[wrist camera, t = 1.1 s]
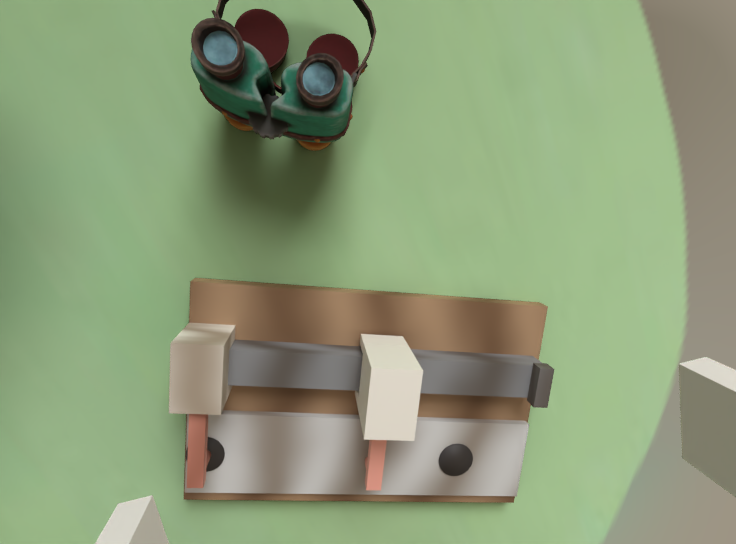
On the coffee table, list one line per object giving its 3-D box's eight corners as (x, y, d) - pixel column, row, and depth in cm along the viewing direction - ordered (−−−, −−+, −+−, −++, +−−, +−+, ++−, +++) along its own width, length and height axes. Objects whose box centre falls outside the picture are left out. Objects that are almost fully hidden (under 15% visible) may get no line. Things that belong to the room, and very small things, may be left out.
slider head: (347, 461, 33) (355, 521, 27) (360, 333, 31) (371, 368, 25) (388, 462, 33) (403, 521, 28) (403, 336, 32) (423, 370, 26)
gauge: (188, 488, 34) (165, 542, 28) (195, 277, 31) (171, 296, 26) (507, 492, 37) (538, 541, 32) (539, 302, 34) (579, 322, 29)
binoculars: (412, -83, 20) (355, 144, 20) (374, 26, 30) (336, 174, 30) (202, -165, 18) (145, 82, 19) (238, -20, 28) (201, 136, 29)
